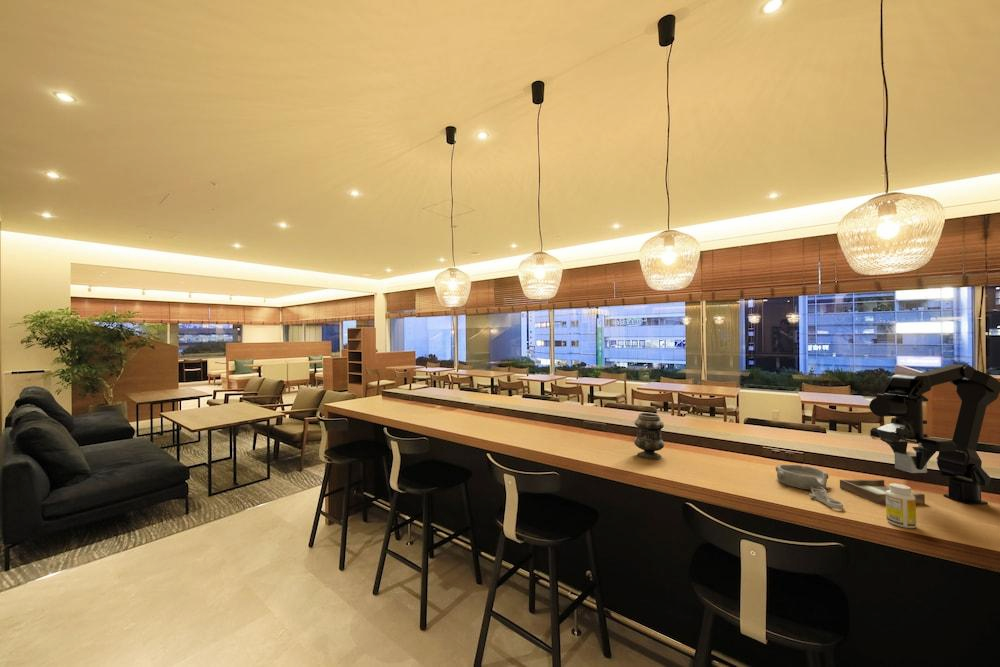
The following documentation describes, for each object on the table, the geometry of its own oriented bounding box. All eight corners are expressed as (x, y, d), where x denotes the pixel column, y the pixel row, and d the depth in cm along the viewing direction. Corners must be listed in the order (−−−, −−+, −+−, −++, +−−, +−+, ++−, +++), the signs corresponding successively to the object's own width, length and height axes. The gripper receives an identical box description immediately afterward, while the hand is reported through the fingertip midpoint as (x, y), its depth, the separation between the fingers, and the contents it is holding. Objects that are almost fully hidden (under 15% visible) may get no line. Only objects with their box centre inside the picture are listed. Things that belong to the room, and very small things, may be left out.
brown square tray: (882, 487, 127) (881, 479, 127) (924, 503, 114) (924, 494, 114) (839, 487, 126) (839, 479, 127) (878, 503, 114) (877, 494, 114)
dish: (829, 484, 130) (829, 469, 130) (825, 495, 120) (825, 479, 120) (777, 474, 140) (777, 460, 140) (770, 483, 130) (770, 468, 130)
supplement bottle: (912, 523, 102) (912, 485, 102) (919, 531, 97) (918, 491, 97) (883, 517, 105) (883, 480, 105) (888, 525, 100) (888, 486, 101)
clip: (909, 467, 117) (909, 451, 118) (926, 472, 113) (926, 455, 113) (894, 468, 117) (894, 451, 117) (911, 473, 113) (911, 456, 113)
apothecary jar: (669, 457, 160) (669, 414, 161) (654, 462, 153) (654, 418, 153) (644, 450, 170) (644, 410, 170) (628, 455, 162) (628, 413, 163)
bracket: (837, 489, 120) (843, 504, 108) (838, 495, 120) (844, 511, 108) (807, 484, 125) (810, 498, 113) (807, 490, 125) (810, 504, 113)
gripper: (854, 410, 124) (855, 458, 124) (920, 422, 106) (922, 478, 105) (885, 410, 125) (886, 457, 125) (956, 422, 106) (958, 477, 106)
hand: (910, 466), depth 115 cm, fingers closed on clip, 4 cm apart
